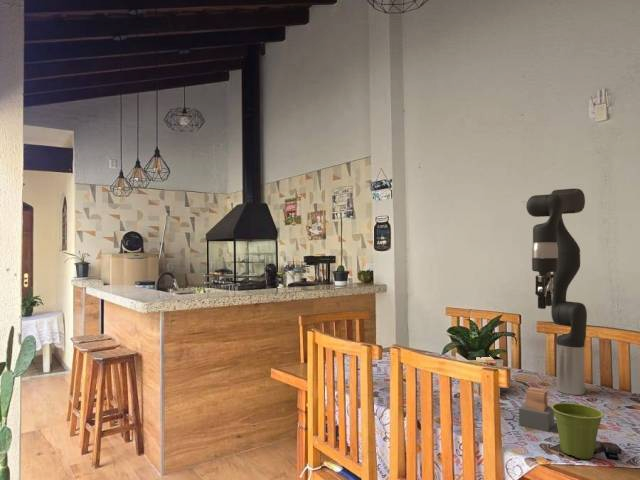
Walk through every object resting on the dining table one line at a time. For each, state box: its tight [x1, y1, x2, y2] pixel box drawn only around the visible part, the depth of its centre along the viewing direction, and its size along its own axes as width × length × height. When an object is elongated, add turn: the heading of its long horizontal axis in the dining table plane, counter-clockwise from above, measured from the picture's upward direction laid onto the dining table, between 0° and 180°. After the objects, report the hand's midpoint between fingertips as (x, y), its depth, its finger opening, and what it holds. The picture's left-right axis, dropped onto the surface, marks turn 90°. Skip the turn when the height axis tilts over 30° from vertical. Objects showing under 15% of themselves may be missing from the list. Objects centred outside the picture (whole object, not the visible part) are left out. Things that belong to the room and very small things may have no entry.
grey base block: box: [518, 401, 555, 432], centre depth 139 cm, size 8×8×5 cm
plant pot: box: [550, 402, 604, 460], centre depth 119 cm, size 12×12×11 cm
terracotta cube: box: [525, 387, 549, 412], centre depth 139 cm, size 5×5×5 cm
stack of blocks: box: [473, 356, 497, 396], centre depth 177 cm, size 21×6×12 cm, turn 172°
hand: (544, 307), depth 149 cm, fingers open, 8 cm apart
